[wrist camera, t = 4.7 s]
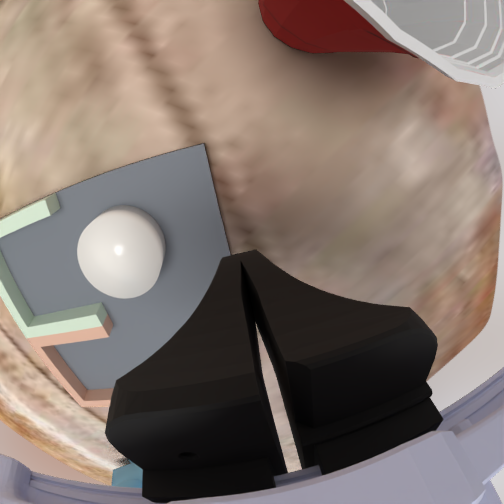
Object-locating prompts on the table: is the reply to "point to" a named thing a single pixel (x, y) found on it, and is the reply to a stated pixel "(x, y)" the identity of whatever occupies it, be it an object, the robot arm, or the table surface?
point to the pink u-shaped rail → (62, 370)
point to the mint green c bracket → (6, 287)
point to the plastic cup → (399, 31)
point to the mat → (171, 274)
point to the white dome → (122, 251)
